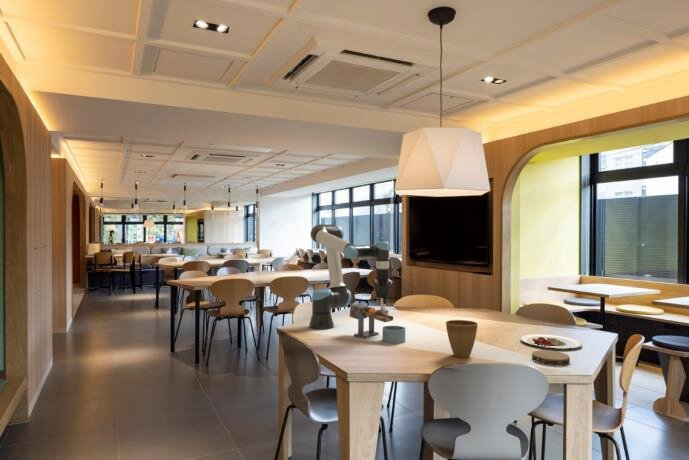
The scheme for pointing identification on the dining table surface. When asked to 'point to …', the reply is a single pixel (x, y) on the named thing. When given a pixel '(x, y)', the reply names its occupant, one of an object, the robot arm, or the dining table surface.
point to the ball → (372, 310)
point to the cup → (394, 334)
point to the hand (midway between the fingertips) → (383, 309)
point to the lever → (379, 314)
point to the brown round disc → (550, 357)
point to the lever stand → (361, 331)
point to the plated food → (550, 341)
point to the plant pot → (461, 336)
